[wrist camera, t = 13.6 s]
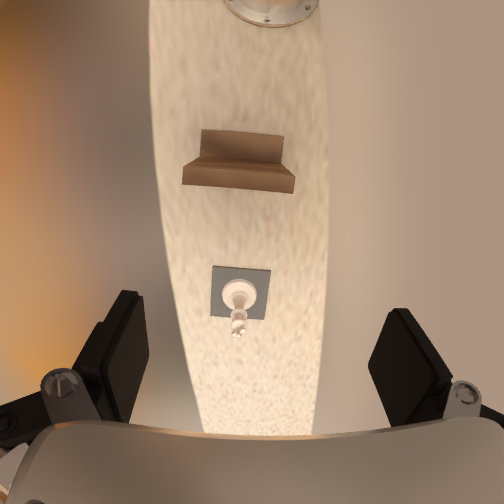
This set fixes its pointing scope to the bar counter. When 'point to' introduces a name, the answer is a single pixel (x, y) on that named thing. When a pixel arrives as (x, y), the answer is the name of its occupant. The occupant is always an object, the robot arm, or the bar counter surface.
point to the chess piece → (239, 303)
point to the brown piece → (240, 162)
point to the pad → (229, 273)
